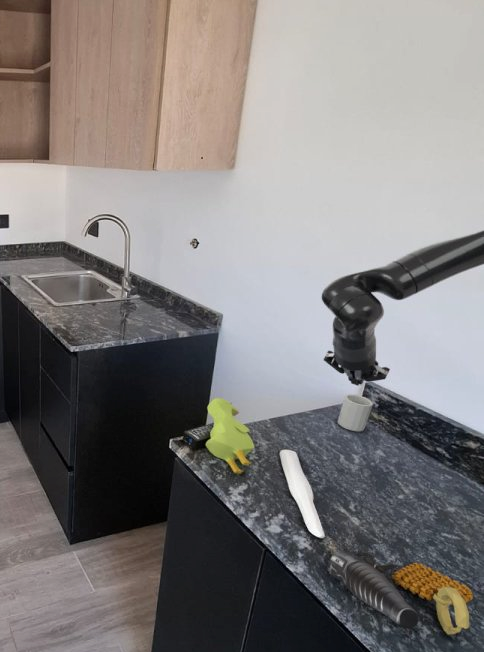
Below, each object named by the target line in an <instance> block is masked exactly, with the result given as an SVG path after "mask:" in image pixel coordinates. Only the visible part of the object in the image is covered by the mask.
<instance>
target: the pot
mask: <svg viewBox="0 0 484 652" xmlns="http://www.w3.org/2000/svg"><path fill="white" fill-rule="evenodd" d="M372 408H373V402H372V400H371V399H369V398H367V397H365V396H362V395H358V394H353V393H351V394H349V393H348V394H345V396H344V399H343V402H342V405H341V408H340V412H339V414H338V418H337V424H338V425H339V426H341V428H344V429H346V430H348V431H353V432H363V431H365V429H366V426H367V423H368V420H369V418H370V414H371V411H372Z"/></svg>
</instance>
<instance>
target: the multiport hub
mask: <svg viewBox="0 0 484 652" xmlns="http://www.w3.org/2000/svg"><path fill="white" fill-rule="evenodd" d="M213 426H214V422H211V423H207V424H204V425H201V426H198V427H195V428H191V429H188V430H184V431H183V436H182V441H183V442H184V443H186V445H188V446H190V447H191V448H193V450H198V449H201V448H205V447H206V443H207V441H208V440H209V439H211V436H210V432H211V430H212V429H213ZM185 437H186V438H185ZM187 437H188V438H187Z"/></svg>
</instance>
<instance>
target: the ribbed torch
mask: <svg viewBox="0 0 484 652" xmlns="http://www.w3.org/2000/svg"><path fill="white" fill-rule="evenodd" d="M356 554H357V555H356ZM356 554H353V553H352V552H349V551H346V550H336V551H334V552H333V553H332V555H331V557H330V559H329V560H328V562H327V569H328V573H329V575H330V577H333V578H334V579H336V580H338V581H340V582H342V583H343V585H344V586H345V587H346V588H347V589H348V591H350V592H351V593H352V595H353V596H354V597H356V598H357V599H358V600H360V601H362V602H363V603H365V604H366V605H368V606H370V607H371V608H373V609H375V610H376V611H378V612H380V613H381V614H382V615H385V616H386V617H388V618H389V619H390V620H392V621H393V622H394V623H395V624H396V625H398V626H399V627H401V628H403V629H413V628H415V627H417V626H418V624H419V618H420V617H419V615H418V613H417V611H416V610H415V609H414V608H413V607H412V606H411V605H410V604H408V602H406V601H405V599H404V598H403V596H402V595H401V593H400V592H399V591H398V590H397V589H396V588H395V587H394V585H393V584H392V582H390V580H389V579H388V577H386V576H385V575H384V574H385V572H387V571H390V570H393V569H396V568H397V567H398V566H397V564H394V563H393V564H382V565H378V564H377V563H376V562H375V561H374V559H373V555H372V554H370V553H368V552H364V551H362V550H361V549H360V550H359V549H358V550H357V553H356ZM358 556H359V557H358Z"/></svg>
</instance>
